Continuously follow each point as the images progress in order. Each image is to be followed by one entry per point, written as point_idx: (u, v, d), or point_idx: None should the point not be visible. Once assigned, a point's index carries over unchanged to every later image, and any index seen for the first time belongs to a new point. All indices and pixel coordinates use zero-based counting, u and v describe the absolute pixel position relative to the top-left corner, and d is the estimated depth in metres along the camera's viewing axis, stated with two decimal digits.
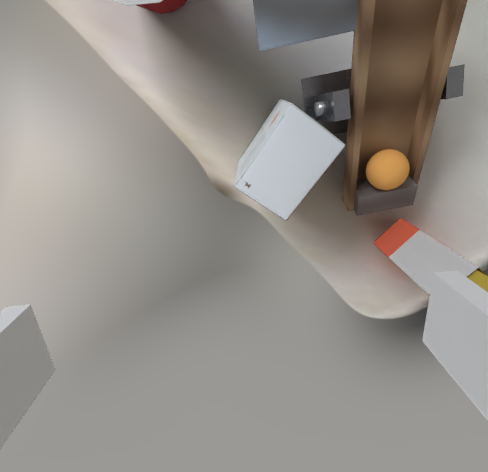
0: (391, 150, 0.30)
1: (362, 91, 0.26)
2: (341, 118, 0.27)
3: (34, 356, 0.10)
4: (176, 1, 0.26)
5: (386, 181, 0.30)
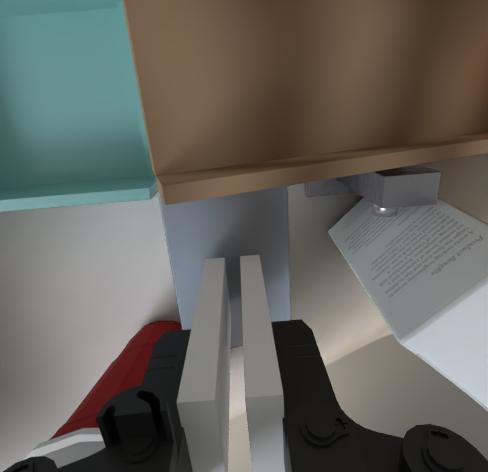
0: None
1: (400, 159, 0.12)
2: (435, 191, 0.14)
3: (228, 300, 0.12)
4: None
5: None
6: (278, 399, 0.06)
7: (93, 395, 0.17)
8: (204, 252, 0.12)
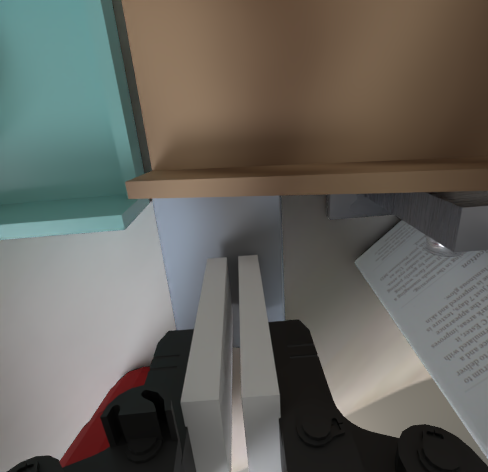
0: None
1: (419, 182, 0.09)
2: None
3: (230, 299, 0.12)
4: None
5: None
6: (274, 399, 0.06)
7: None
8: (190, 247, 0.13)
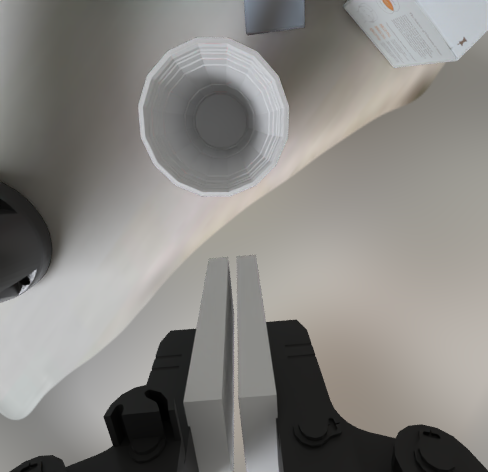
0: None
1: None
2: None
3: (231, 299, 0.12)
4: None
5: None
6: (271, 399, 0.06)
7: None
8: None
